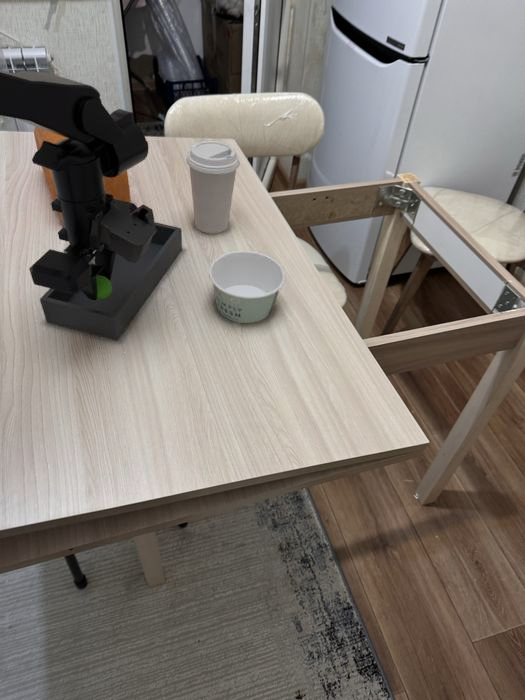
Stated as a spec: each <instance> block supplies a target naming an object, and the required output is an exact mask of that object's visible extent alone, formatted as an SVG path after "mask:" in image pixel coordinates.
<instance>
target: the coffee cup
mask: <svg viewBox="0 0 525 700" xmlns="http://www.w3.org/2000/svg"><path fill="white" fill-rule="evenodd" d="M185 161H186V164H187V165H188V167H189V175H190V176H189V177H190V185H191V186H190V187H191V195H192V207H193V218H194V225H195V228H196V229H197V230H198V231H200V232H202V233H204V234H209V235H210V234H212V235H216V234H220V233H223V232H225V231H227V229H228V228H229V222H230V216H231V215H230V214H231V207H232V201H233V193H234V187H235V181H236V180H235V179H236V173H237V170H238V169H239V168H240V165H241V164H240V159H239V156H238V154H237V151H236V149H235V147H233V146H232V145H230V144H229V143H226V142H223V141H218V140H201V141H198V142H195V143H193V144H192V146H191V147H190V150H189V152H188V153H187V155H186V159H185Z"/></svg>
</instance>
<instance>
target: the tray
mask: <svg viewBox="0 0 525 700" xmlns="http://www.w3.org/2000/svg"><path fill="white" fill-rule="evenodd" d="M154 224H156V226H155V228H156V229H157V231H156V233H155V234H154V235H153V236H152V239H151V242H150V245H149V248H148V250H147V251H146V252H145V253H144V254H143V255H142V257H141V258H140V260H139V261H138V262H136V263H131V262H129V261H127V260H125V258H124V257H122V256H120V255H118V254H116V255H115V260H114V265H113V270H112V275H111V280H110V282H111V284H112V292H111V294H110V295H109V297H107V298H106V299H103V300H97V299H96V300H91V299H89V298H88V297H87V296H86V295H85V294H84V293H83V292H82V291H80V292H79V293H75V294H70V293H66V292H62V291H58V290H54V289H50V288H48V290H47V291H46V292H45V293H44V294H43V295H42V296H41V297H40V298H39V301H40V305H41V308H42V311H43V315H44V318H45V322H46V323H48V324H52V325H56V326H61V327H64V328H68V329H72V330H75V331H78V332H83V333H87V334H90V335H94V336H98V337H101V338H106V339H109V340H113V341H117V342H119V340H120V339H121V337H122V336H123V334H124V333H125V332H126V330H127V329H128V327H129V326H130V325H131V323H132V321H134V319H135V317H136V316H137V314H138V313H139V311H140V310H141V309H142V307H143V305H145V304H146V301H147V300H148V299H149V297H150V295H152V293H153V291H154V290H155V289H156V287H157V286H158V285H159V283H160V282H161V281H162V280H163V277H164V276H165V275H166V273H167V272H168V271H169V269H170V267H171V266H172V265H173V263H174V261H175V260H176V259H177V257H178V256H179V255H180V253H181V252H182V251H183V242H182V241H183V239H182V238H183V237H182V228H181V227H177V226H173V225H169V224H165V223H160V222H156V221H154Z"/></svg>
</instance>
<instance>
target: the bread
mask: <svg viewBox="0 0 525 700" xmlns="http://www.w3.org/2000/svg"><path fill="white" fill-rule="evenodd" d="M33 135H34V140H35V145H36V150H37V151H38V150H39V149H40V147H41V145H42V142H43V141H48V142H51V143H53V144H55V143H57V142H59V141H61V140H63V139H66V138H67V137H64V136H61V135H58V134H55V133H52V132H49V131H46V130H43V129H40V128H38V127H35V126H34V130H33ZM41 169H42V172H43V176H44V178H45V181H46V185H47V187H48V190H49V193H50V195H51V199H52V202H53V201H54V200H55V199H56V198H57V194H56V189H55V185H54V180H53V176H52V171H51V170H50V169H47V168H44V167H42V166H41ZM103 177H104V184H105V190H106V194H110V195H113V198H114V199H117V200H121V201H126V202H130V203H132V200H131V199H132V198H131V191H130V183H129V175H128V170H126V171H125V172H123V173H121V174H120V175H118V176H116V177H113V178H109V177H105V176H103ZM56 214H57V216H58V219H59V221H60V223H61V224H62V225H63V221H62V216H61V212H57V211H56Z"/></svg>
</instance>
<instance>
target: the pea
mask: <svg viewBox="0 0 525 700" xmlns="http://www.w3.org/2000/svg"><path fill="white" fill-rule="evenodd" d="M96 279H97V300H103V299H106V298H107V297H109V295H110V294H111V292H112V284H111V282H110V281H109V279H107V278H106V277H104V276H101V275H97V276H96Z"/></svg>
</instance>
